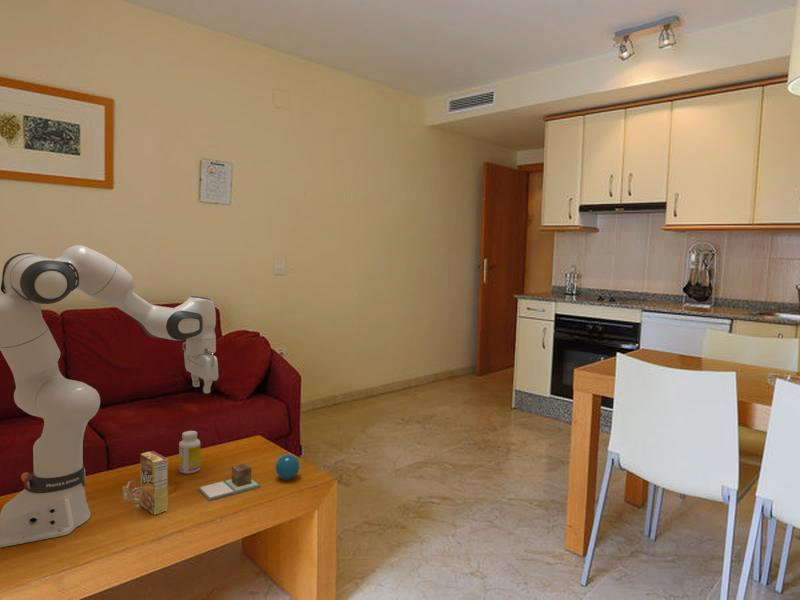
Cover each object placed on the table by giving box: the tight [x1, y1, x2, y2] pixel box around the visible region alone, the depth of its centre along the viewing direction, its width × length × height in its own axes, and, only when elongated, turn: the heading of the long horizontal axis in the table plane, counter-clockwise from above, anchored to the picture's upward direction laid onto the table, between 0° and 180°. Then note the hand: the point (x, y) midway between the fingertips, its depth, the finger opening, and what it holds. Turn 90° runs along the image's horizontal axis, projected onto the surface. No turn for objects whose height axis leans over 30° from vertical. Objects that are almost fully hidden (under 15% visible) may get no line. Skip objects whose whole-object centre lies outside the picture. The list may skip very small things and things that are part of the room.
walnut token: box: [231, 463, 252, 487], centre depth 169 cm, size 4×4×5 cm
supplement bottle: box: [178, 430, 202, 475], centre depth 179 cm, size 7×7×13 cm
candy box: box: [139, 450, 169, 516], centre depth 152 cm, size 9×4×15 cm, turn 50°
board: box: [197, 478, 261, 502], centre depth 167 cm, size 16×10×1 cm, turn 130°
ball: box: [274, 453, 301, 481], centre depth 175 cm, size 8×8×8 cm
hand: (201, 389), depth 172 cm, fingers open, 8 cm apart
